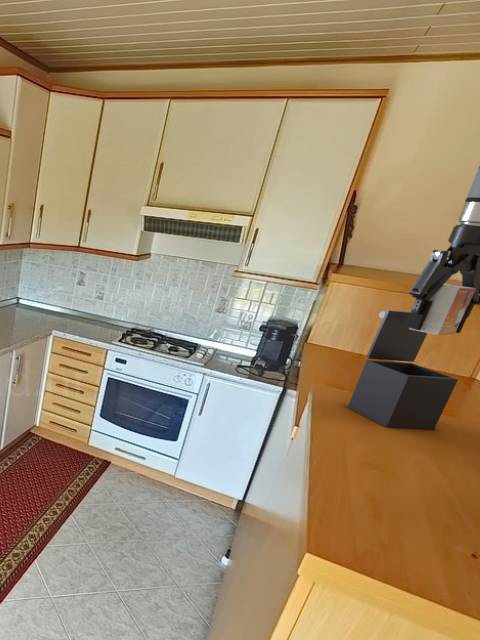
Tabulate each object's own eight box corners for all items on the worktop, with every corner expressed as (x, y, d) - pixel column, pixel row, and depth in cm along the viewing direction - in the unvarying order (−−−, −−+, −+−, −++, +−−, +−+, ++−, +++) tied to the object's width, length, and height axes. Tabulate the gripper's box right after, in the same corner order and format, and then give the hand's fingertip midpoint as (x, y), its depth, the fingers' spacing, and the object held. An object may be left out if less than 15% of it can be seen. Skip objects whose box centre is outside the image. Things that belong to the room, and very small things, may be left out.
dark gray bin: (434, 429, 114) (458, 379, 110) (386, 427, 113) (409, 376, 109) (391, 409, 125) (411, 362, 120) (347, 407, 124) (366, 359, 119)
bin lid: (436, 314, 115) (415, 308, 120) (389, 310, 114) (369, 305, 119) (413, 361, 120) (394, 354, 125) (368, 358, 119) (350, 351, 124)
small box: (437, 336, 106) (459, 287, 102) (407, 329, 110) (427, 282, 107) (455, 335, 109) (477, 287, 105) (425, 328, 114) (445, 283, 110)
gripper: (505, 228, 106) (458, 328, 114) (415, 219, 104) (374, 322, 112) (546, 231, 99) (493, 337, 107) (450, 221, 97) (404, 331, 105)
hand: (432, 330), depth 109 cm, fingers closed on small box, 9 cm apart
